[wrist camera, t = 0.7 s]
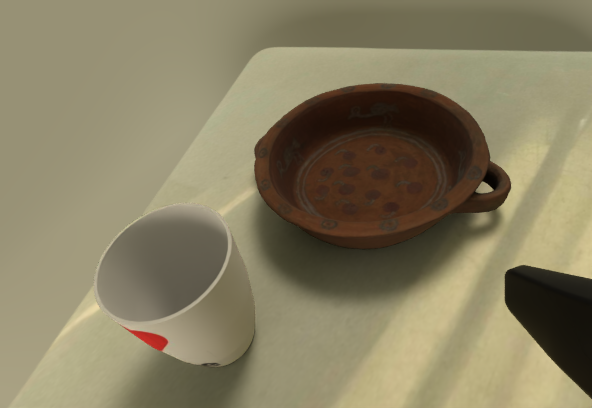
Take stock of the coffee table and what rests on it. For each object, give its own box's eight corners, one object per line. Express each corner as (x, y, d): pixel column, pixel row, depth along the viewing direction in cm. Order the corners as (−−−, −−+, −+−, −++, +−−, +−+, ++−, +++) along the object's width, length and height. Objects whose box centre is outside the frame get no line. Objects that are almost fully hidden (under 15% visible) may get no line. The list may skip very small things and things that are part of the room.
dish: (486, 311, 28) (497, 271, 25) (215, 238, 37) (193, 201, 34) (519, 136, 37) (530, 89, 34) (296, 112, 47) (285, 73, 43)
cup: (153, 329, 33) (76, 258, 25) (238, 265, 35) (190, 182, 28) (201, 416, 28) (123, 358, 20) (297, 334, 30) (259, 256, 23)
